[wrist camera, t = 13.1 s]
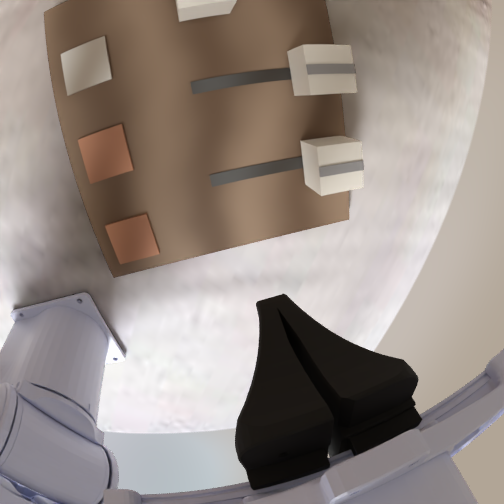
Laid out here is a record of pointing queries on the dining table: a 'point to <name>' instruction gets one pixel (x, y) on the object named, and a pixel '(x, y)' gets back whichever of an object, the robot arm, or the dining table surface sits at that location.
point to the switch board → (189, 124)
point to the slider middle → (322, 69)
